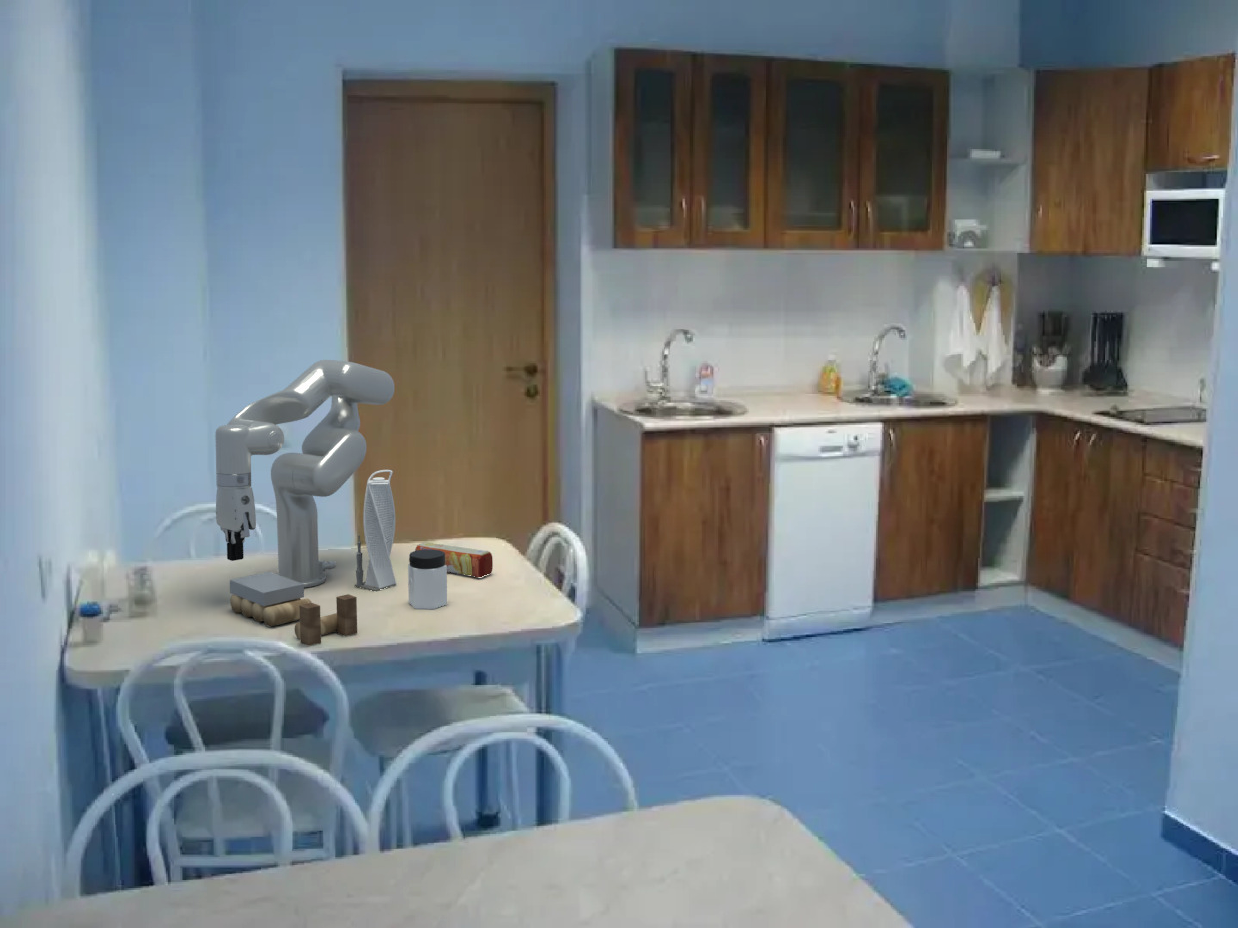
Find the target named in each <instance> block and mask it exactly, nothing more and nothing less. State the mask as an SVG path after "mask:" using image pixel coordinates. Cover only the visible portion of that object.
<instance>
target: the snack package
mask: <svg viewBox="0 0 1238 928" xmlns="http://www.w3.org/2000/svg"><path fill="white" fill-rule="evenodd" d="M414 549H415V550H414V551H417V550H426V549H431V550H440V551H443V552H444V553H445V565H446V566H447V573H450V572H451V573H450V574H455V573H457V575H460V574H465V575H464V576H466V575H471V576H475V577H482V576H484V575H487V574H490V573H491V574H492V572H493V565H494V564H493V561H494V560H493V554H492V553H491V552H490V551H489V550H483V549H476V548H468V547H461V546H456V545H455V546H454V545H449V544H441V543H433V542H429V541H424V542H421V543H419V544H417V545H416V547H415V548H414ZM491 574H490V575H491ZM475 577H474V578H475Z"/></svg>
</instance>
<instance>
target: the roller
mask: <svg viewBox="0 0 1238 928" xmlns="http://www.w3.org/2000/svg"><path fill="white" fill-rule="evenodd" d="M320 619H321V636H324V635H328V634H333V633H337V612H336V613H331V614H328V615H324V616H320ZM294 634H295V635H294V636H295V637H296V638H297V639H298V640H300V621H299V622H296V623H295V625H294Z"/></svg>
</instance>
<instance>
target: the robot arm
mask: <svg viewBox="0 0 1238 928" xmlns="http://www.w3.org/2000/svg"><path fill="white" fill-rule="evenodd" d="M395 390H396V389H395V381H394V379H393V377H392V376H391V375H390V374H389V373H388V372H386V371H384V370H381V369H378V368H374V367H371V366H367V365H364V364H360V363H356V362H353V361H346V360H334V359H321V360H318V361H316V362H314V363H313V364H311V365H310V366H309V367H308V368H307V369H306V370H305V371H304V372H302V373H301V374H299V376H297V378H296V379H294V380H293V381H292V382H291V383H289V384H288V385H287V386H286V387H285V388H284V389H282V390H280V391H277V392H274V393H272V394H270V395H267V396H265V397H262V398H260V399H257V400H256V401H253V402H252V403H250V404H248V405H247V406H245V407H243V408H242V409H241V410H240V411H239V412H237V414H235V415H234V416H233V417H232V418H231V419H230V420H229V421H228V422H227V423H226V424H224V425H220V426H218V427H217V428H216V430H215V436H214V437H215V473H216V474H215V476H216V479H215V480H216V485H215V486H216V488H217V489H216V495H215V496H216V499H215V521H216V524H217V526H219V527H220V528H219V529H220V530H221V532H223V533H224V535H225V536H224V537H225V542H226V558H227V560H229V561H230V562H235V561H240V560H244V543H245V540H246V539H245V538H249V537H250V536H251V535H250V531H253V530H255V529H256V528H257V522H256V521H257V518H256V516H257V515H256V505H255V504H256V503H255V497H254V492H253V491H254V490H253V487H252V456H270V455H273V454H275V453H277V452H279V451H280V450H281V449H282V447H283V445H284V443H285V434H284V432H283V429H281V428H280V427H279V425H281V424H287V423H293V422H297V421H301V420H304V419H306V418H308V417H310V416H311V415H312V414H313V413H314V412H315V411H316V410H317V409H318V408H319V407H321V406H322V405H323V404H324V403H325V402H326V401H328V399H330V398H331V405H330V410H329V411H328V413H327V414H326V415H325V416H324V418H322V420H321V421H319V422H318V424H317V425H315V426H314V428H313V429H312V430H311V431H309V433H308V434H307V435H306V436H305V438H304V439H303V441H302V444H301V452H302V453H301V452H286V453H282V454H281V455H279V456H277V457H276V459H274V461H273V462H272V465H271V467H270V479H271V484H272V487H273V493H274V496H275V497H274V498H275V505H276V506H275V508H276V531H277V533H276V534H277V535H276V537H277V559H278V560H277V562H278V566H277V567H278V573H276V574H277V575H280V576H283V577H285V578H288V579H291V580H294V581H297V582H299V583H302V584H304V589H305V588H310V587H311V588H312V587H316V586H319V585H322V584H323V583H325V582H326V577H327V576H326V574H325V573H324V572H326V570H332V569H336V568H337V563H336V561H335V560H330V561H325V560H320V557H319V556H320V555H319V530H318V529H319V525H318V523H319V522H318V521H319V520H318V507H317V503H316V501H315V498H314V497H320V498H326V497H330V496H332V495H333V494H335V493H336V492H337V491H339V489H341V488H342V487H343V485H344V484H346V482H347V481H348V480H349V479H350V478H351V477H352V476H353V474H355V472H356V471H357V470H358V469H359V468H360V466H361V465H362V463H363V462H364V459H365V458H366V454H367V442H366V439H365V437H364V435H363V434H362V433H360V431H359V429H360V428H361V419H360V415H359V414H360V413H359V408H358V404H365V405H366V404H367V405H377V406H381V405H384V404H387V403H388V402H389V401H390V400H391V399H392V398H393V396H394V394H395Z"/></svg>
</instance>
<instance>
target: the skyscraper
mask: <svg viewBox="0 0 1238 928" xmlns="http://www.w3.org/2000/svg"><path fill="white" fill-rule="evenodd" d="M386 472H387V473H389V477H388V479H385V477H374V476H375V475H376V474H379V473H386ZM393 473H394V472H393V470H391V469H381V470H377V471H374V472H373V473H371V475H370V476H369V477H368V479H367V481H366V482H367V483H366V489H365V495H364V504H363V514H362V515H363V516H362V517H363V520H362V521H363V532H364V533H363V535H364V540H365V545H366V550H367V553H368V558H369V559H368V564H367V565H368V566H367V570H366V576H365V581H364V569H363V552H362V550H361V549H362V547H361V544H362V542H361V537H360V534H358V535H357V536H358V538H357V540H358V541H357V543H356V544H357V552H355V556H356V570H355V575H356V584H354V587H355V586H356V587H355V588H358V587H361V588H360V589H362V588H364V589H363V590H366V589H368V591H370V590H372V591H371V592H374V591H376V592H379V591H381V590H380V589H383V590H385V589H384V588H386V587H389V588H391V587H390V586H393V587H395V585H396V586H397V582H396V577H395V573H394V569H393V565H392V560H391V557H390V556H391V553H392V550H393V549H392V548H393V544H394V540H395V531H396V508H395V501H394V496H393V492H392V487H391V478H392V477H393ZM386 589H387V588H386ZM378 590H379V591H378Z"/></svg>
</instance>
